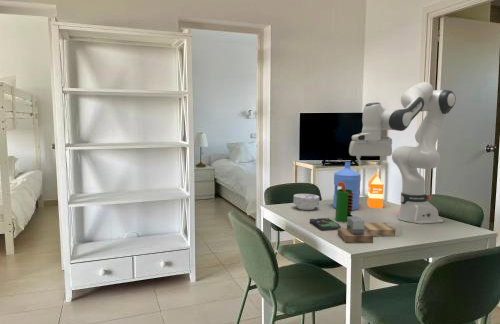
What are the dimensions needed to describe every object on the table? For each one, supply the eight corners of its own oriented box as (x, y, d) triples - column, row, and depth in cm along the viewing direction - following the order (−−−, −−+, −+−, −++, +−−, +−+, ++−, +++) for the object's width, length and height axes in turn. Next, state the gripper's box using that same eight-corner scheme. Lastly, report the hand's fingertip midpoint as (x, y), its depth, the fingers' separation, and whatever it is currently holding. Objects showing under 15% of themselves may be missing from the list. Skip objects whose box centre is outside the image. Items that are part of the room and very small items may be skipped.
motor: (353, 222, 195) (354, 184, 193) (335, 221, 197) (336, 183, 195) (351, 217, 205) (353, 181, 203) (335, 216, 207) (336, 180, 205)
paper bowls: (318, 206, 233) (318, 193, 232) (319, 212, 218) (320, 198, 217) (293, 205, 234) (293, 192, 234) (293, 211, 219) (293, 197, 218)
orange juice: (379, 205, 237) (381, 173, 235) (382, 208, 229) (384, 175, 226) (367, 204, 238) (368, 173, 236) (369, 207, 230) (370, 175, 228)
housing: (357, 229, 173) (358, 216, 172) (363, 234, 165) (364, 221, 164) (346, 229, 173) (347, 216, 172) (352, 234, 165) (353, 221, 164)
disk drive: (309, 224, 194) (321, 231, 180) (309, 218, 194) (321, 226, 180) (327, 222, 197) (341, 230, 183) (327, 217, 197) (341, 224, 183)
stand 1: (363, 234, 175) (363, 228, 175) (372, 242, 163) (373, 235, 163) (337, 234, 175) (337, 228, 174) (345, 242, 163) (345, 236, 162)
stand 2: (384, 228, 185) (384, 222, 185) (395, 236, 173) (395, 229, 173) (360, 228, 184) (360, 222, 184) (369, 236, 173) (370, 229, 172)
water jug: (357, 205, 236) (359, 160, 233) (361, 211, 221) (363, 163, 218) (332, 204, 238) (333, 160, 235) (333, 210, 223) (335, 162, 220)
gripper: (389, 136, 185) (388, 164, 187) (348, 136, 184) (347, 164, 186) (395, 137, 179) (393, 165, 181) (352, 136, 178) (351, 165, 179)
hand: (369, 165), depth 183 cm, fingers open, 8 cm apart
